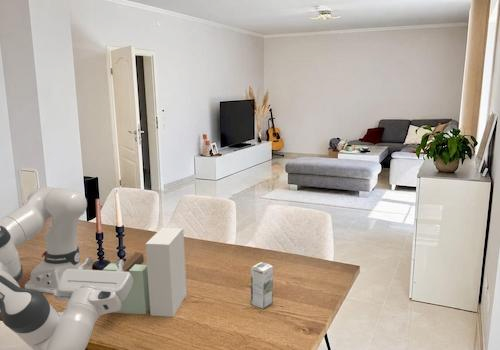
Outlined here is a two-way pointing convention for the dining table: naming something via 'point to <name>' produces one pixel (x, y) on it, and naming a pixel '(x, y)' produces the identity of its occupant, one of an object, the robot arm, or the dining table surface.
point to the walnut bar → (133, 261)
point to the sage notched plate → (135, 290)
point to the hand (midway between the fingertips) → (105, 259)
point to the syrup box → (262, 285)
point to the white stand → (166, 271)
